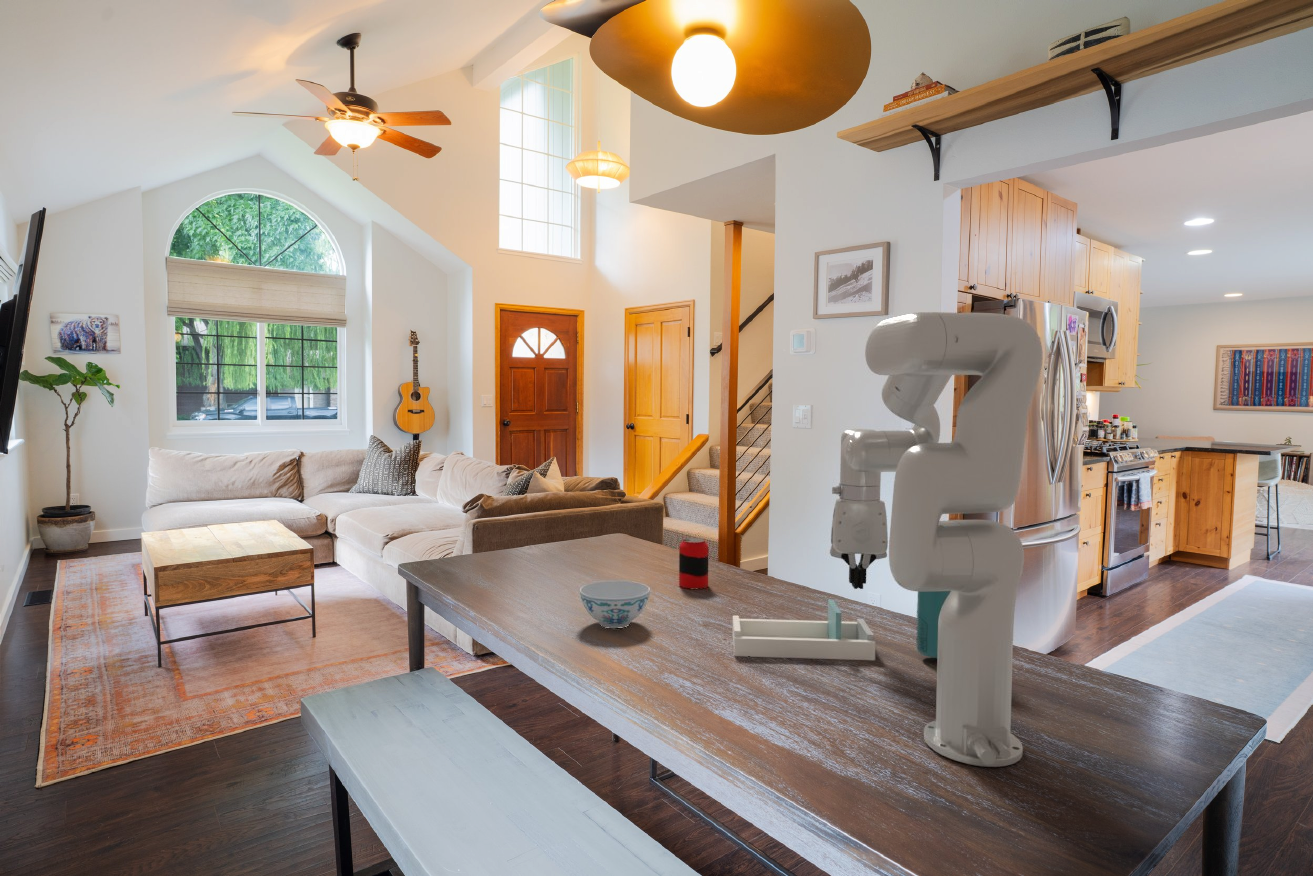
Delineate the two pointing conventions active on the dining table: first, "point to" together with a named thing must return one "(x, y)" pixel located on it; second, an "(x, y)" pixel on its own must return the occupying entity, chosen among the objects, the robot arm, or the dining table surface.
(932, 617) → the beverage bottle
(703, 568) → the soda can
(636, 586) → the chinaware
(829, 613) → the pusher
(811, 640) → the white divided tray
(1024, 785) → the dining table surface
